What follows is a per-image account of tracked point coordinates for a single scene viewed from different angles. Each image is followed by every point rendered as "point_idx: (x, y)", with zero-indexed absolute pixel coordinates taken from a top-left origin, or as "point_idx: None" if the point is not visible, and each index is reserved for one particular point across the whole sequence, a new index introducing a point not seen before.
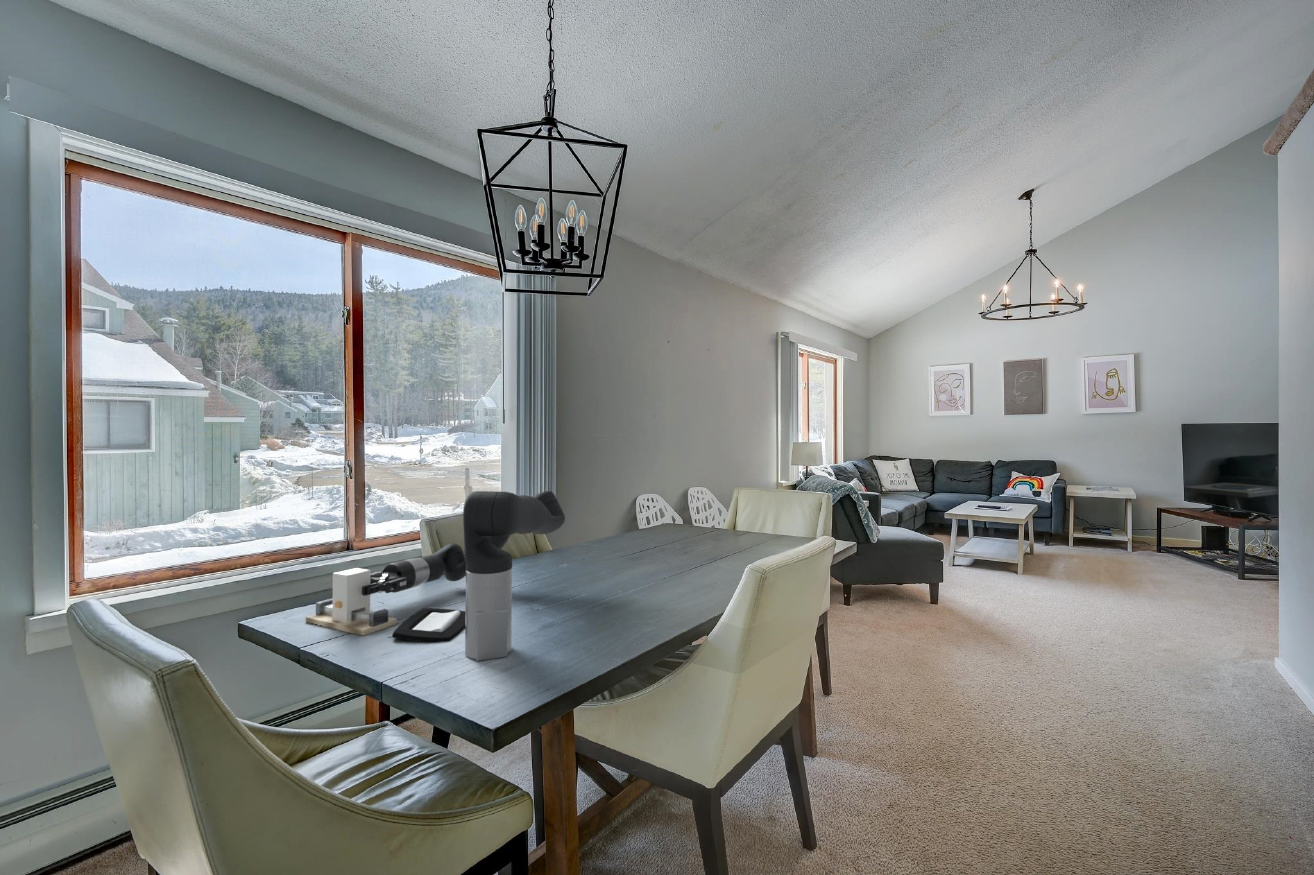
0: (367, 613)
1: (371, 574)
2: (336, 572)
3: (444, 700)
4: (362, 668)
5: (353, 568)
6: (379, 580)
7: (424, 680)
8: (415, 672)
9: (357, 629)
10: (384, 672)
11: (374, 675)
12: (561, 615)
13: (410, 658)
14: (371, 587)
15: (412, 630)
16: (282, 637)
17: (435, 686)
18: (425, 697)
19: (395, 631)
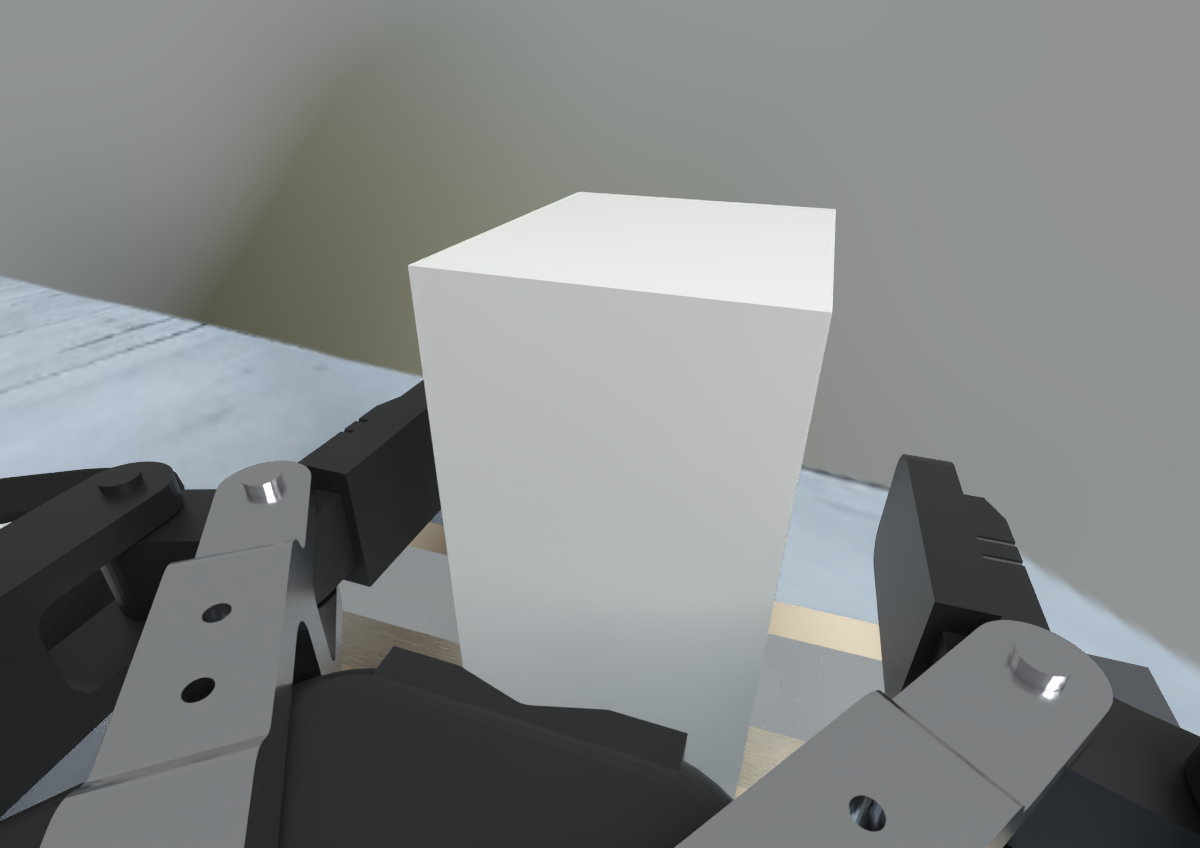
0: (415, 576)
1: (726, 834)
2: (823, 215)
3: (37, 297)
4: (283, 356)
5: (828, 287)
6: (303, 546)
7: (71, 333)
8: (94, 352)
9: (437, 526)
10: (202, 348)
11: (233, 338)
12: None
13: (101, 402)
14: (364, 417)
15: (34, 502)
16: (834, 486)
17: (44, 321)
18: (84, 300)
19: None
